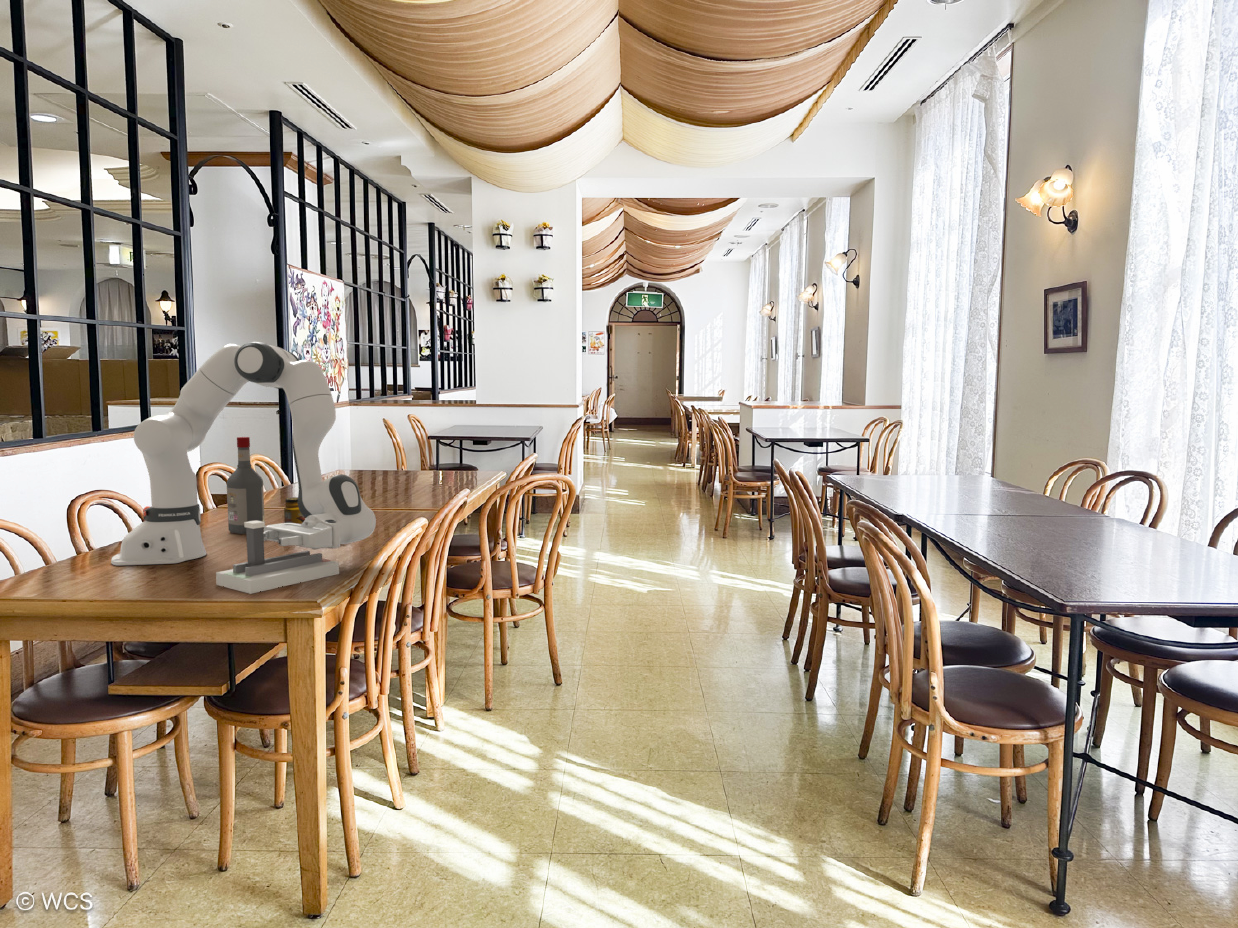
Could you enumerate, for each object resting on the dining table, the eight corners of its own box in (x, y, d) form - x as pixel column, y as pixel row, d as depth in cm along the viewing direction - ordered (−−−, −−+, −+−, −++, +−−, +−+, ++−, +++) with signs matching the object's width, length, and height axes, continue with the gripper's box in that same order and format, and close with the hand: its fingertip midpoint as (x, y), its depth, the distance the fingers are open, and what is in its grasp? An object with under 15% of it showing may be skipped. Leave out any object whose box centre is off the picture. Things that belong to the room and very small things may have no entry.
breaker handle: (254, 573, 195) (253, 523, 194) (246, 570, 197) (244, 522, 196) (266, 570, 197) (264, 521, 196) (257, 568, 199) (256, 520, 198)
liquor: (242, 535, 257) (238, 438, 254) (225, 531, 262) (221, 437, 259) (268, 530, 265) (265, 437, 262) (251, 527, 270) (247, 436, 267)
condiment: (311, 536, 256) (309, 498, 254) (283, 540, 250) (282, 501, 248) (301, 533, 261) (299, 495, 260) (274, 537, 255) (272, 498, 254)
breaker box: (250, 593, 188) (249, 572, 188) (216, 584, 196) (215, 564, 196) (339, 573, 208) (338, 554, 208) (305, 566, 216) (304, 547, 215)
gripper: (293, 515, 216) (243, 522, 205) (343, 523, 204) (293, 531, 193) (294, 539, 217) (244, 547, 205) (343, 548, 205) (294, 558, 194)
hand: (268, 540), depth 199 cm, fingers open, 8 cm apart
